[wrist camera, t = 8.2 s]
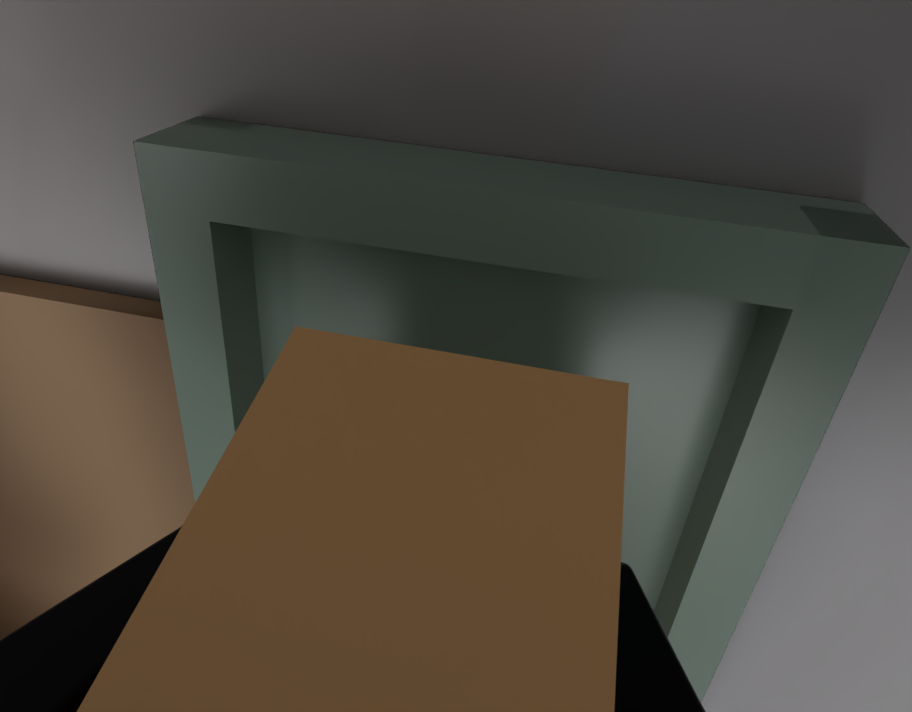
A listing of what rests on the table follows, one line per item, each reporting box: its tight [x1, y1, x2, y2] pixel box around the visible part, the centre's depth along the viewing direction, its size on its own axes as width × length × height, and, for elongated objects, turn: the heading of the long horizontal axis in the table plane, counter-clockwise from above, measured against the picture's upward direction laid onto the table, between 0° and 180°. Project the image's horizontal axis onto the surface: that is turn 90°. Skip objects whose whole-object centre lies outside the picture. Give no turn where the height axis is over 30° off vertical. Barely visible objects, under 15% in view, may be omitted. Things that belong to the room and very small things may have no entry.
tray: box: [133, 117, 910, 702], centre depth 14 cm, size 10×17×2 cm, turn 175°
